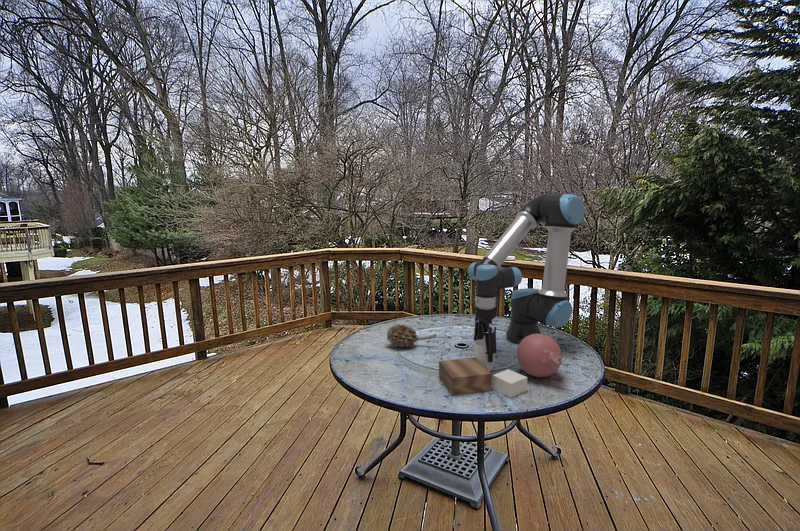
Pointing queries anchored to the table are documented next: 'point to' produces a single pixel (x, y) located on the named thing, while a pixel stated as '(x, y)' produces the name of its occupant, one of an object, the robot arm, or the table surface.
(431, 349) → the table surface
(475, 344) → the white cup
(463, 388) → the walnut block
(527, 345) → the balloon
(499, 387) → the pale block
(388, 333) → the pine cone
